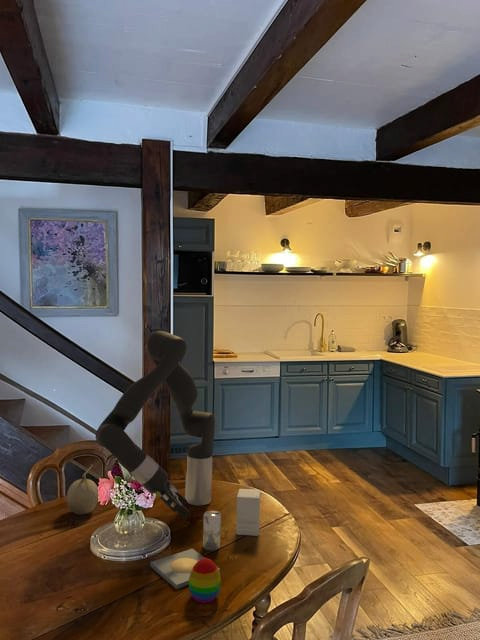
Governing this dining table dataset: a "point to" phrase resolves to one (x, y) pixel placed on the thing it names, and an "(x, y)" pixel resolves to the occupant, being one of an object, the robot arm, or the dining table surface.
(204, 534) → the clear glass cylinder
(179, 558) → the flange plate
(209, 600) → the decorative egg
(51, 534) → the dining table surface
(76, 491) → the fruit
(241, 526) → the supplement box
